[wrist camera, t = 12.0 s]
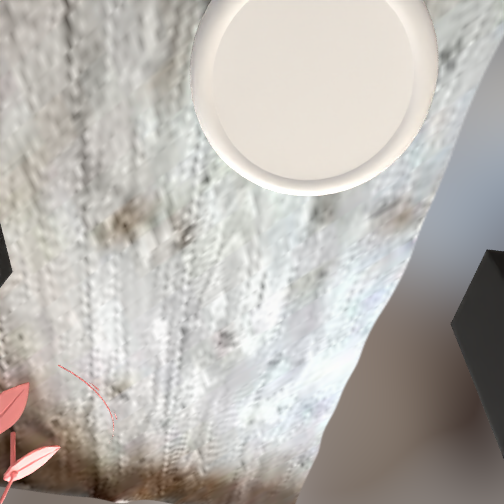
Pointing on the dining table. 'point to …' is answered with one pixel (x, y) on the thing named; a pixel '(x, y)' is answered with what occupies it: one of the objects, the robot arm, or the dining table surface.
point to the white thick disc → (313, 88)
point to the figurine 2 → (3, 417)
